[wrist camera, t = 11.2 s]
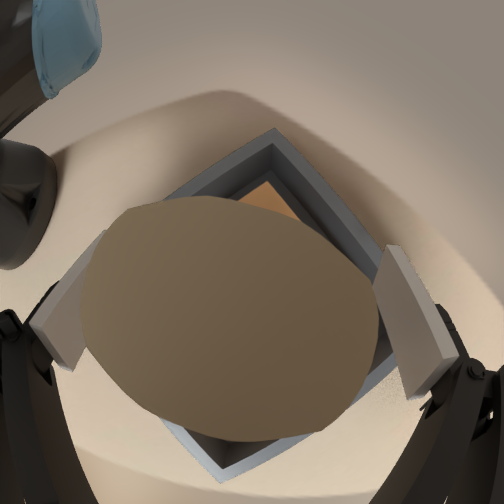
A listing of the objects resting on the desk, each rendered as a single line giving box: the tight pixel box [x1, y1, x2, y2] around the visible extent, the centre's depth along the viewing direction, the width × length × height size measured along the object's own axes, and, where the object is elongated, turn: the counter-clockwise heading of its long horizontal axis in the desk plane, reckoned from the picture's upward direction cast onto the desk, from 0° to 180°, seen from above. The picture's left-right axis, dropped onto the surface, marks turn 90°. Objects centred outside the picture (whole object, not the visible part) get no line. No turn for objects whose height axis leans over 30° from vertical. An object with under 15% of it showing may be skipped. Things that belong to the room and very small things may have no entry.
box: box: [159, 128, 398, 483], centre depth 18 cm, size 18×18×5 cm
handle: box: [80, 196, 379, 442], centre depth 12 cm, size 5×6×15 cm
